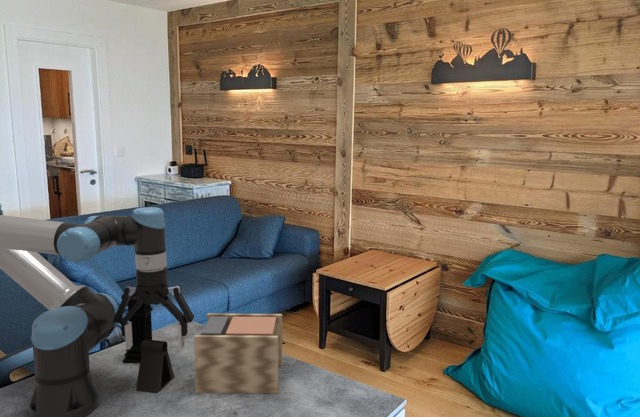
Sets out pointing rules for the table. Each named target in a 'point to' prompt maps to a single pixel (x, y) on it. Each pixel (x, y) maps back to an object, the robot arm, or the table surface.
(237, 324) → the trapdoor
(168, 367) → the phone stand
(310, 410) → the table surface
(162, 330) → the table surface
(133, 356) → the chess piece
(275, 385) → the frame
